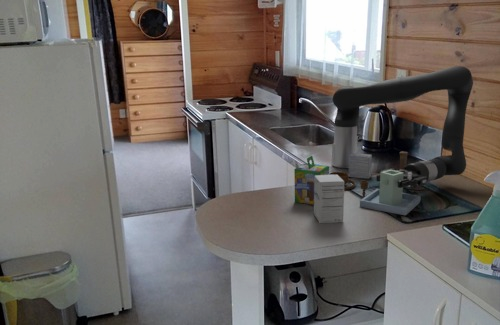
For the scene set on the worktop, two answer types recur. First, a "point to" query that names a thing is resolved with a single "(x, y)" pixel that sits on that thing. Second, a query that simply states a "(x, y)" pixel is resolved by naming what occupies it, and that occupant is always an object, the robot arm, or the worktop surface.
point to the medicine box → (360, 165)
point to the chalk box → (307, 180)
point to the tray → (402, 208)
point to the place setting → (350, 181)
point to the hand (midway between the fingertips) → (387, 181)
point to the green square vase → (390, 187)
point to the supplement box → (328, 198)
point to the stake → (403, 160)
